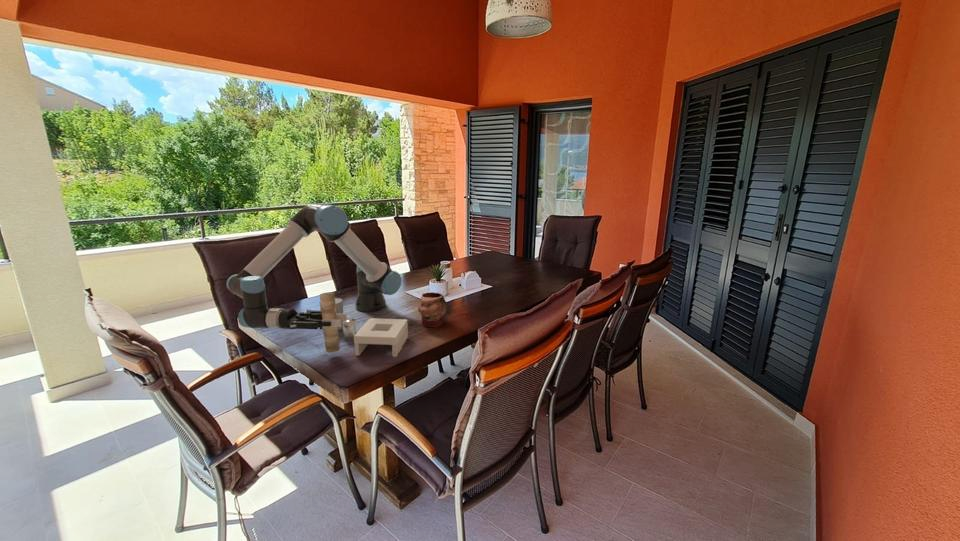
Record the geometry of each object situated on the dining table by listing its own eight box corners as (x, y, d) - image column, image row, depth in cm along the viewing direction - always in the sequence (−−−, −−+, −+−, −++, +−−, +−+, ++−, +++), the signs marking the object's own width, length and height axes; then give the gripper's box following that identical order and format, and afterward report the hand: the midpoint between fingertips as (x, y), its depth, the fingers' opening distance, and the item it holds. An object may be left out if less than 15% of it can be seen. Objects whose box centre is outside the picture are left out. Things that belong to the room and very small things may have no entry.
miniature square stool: (371, 335, 164) (369, 318, 162) (407, 337, 163) (407, 319, 161) (355, 355, 146) (353, 336, 144) (396, 356, 145) (395, 337, 143)
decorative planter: (428, 313, 189) (427, 286, 186) (452, 315, 187) (451, 288, 183) (413, 329, 170) (412, 300, 167) (439, 332, 168) (439, 302, 165)
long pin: (329, 346, 148) (323, 292, 142) (341, 346, 147) (336, 292, 141) (323, 352, 143) (317, 296, 137) (336, 352, 142) (330, 296, 137)
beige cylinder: (349, 324, 175) (347, 299, 172) (335, 332, 167) (332, 305, 163) (332, 321, 178) (329, 296, 175) (317, 329, 170) (314, 303, 166)
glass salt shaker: (346, 335, 164) (345, 318, 162) (358, 335, 163) (356, 318, 161) (341, 340, 159) (340, 322, 157) (353, 340, 159) (352, 322, 157)
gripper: (296, 318, 152) (353, 320, 151) (270, 338, 135) (334, 340, 134) (294, 301, 151) (352, 302, 149) (267, 318, 133) (332, 320, 132)
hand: (343, 320), depth 142 cm, fingers closed on long pin, 5 cm apart
